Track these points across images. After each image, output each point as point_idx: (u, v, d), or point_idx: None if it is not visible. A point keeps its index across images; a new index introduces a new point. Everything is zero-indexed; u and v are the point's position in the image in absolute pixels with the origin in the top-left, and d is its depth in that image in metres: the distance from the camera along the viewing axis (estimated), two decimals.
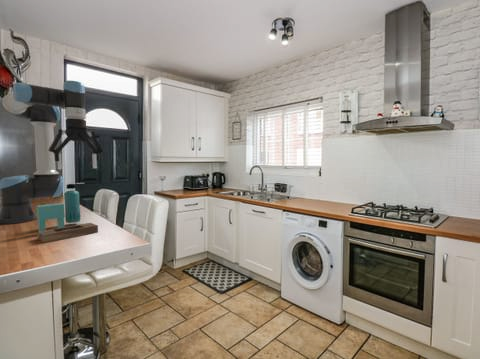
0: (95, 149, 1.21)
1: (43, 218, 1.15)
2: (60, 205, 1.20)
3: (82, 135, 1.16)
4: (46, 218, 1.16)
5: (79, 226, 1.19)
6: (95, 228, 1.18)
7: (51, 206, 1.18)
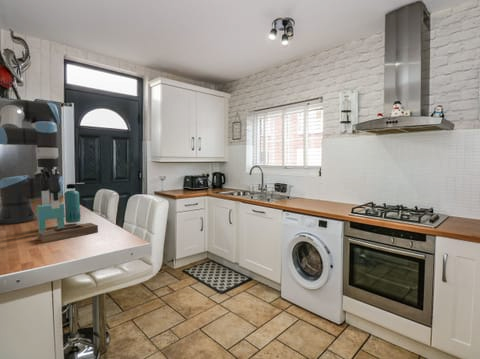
0: (51, 188, 1.12)
1: (43, 218, 1.15)
2: (60, 205, 1.20)
3: (44, 174, 1.15)
4: (46, 218, 1.16)
5: (79, 226, 1.19)
6: (95, 228, 1.18)
7: None
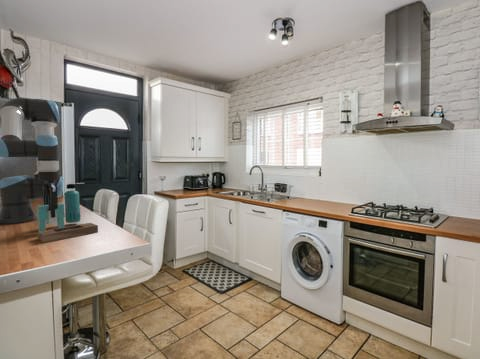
0: (49, 205, 1.16)
1: (43, 218, 1.15)
2: (60, 205, 1.20)
3: (45, 187, 1.16)
4: (46, 218, 1.16)
5: (79, 226, 1.19)
6: (95, 228, 1.18)
7: None
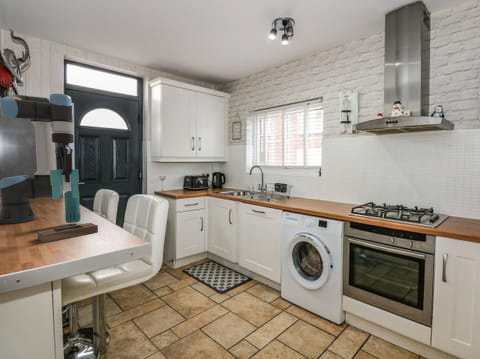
0: (63, 169, 1.09)
1: (57, 182, 1.09)
2: (74, 170, 1.13)
3: (59, 150, 1.09)
4: (60, 183, 1.10)
5: (79, 226, 1.19)
6: (95, 228, 1.18)
7: None
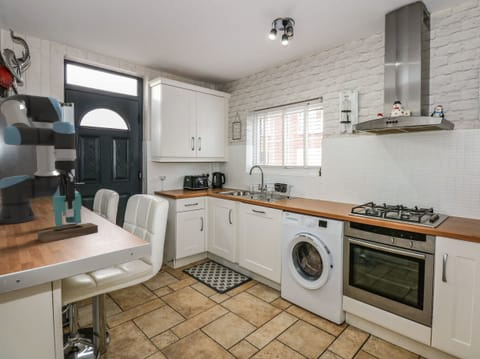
0: (66, 196, 1.10)
1: (60, 209, 1.10)
2: (77, 196, 1.14)
3: (62, 177, 1.10)
4: (63, 210, 1.10)
5: (79, 226, 1.19)
6: (95, 228, 1.18)
7: None
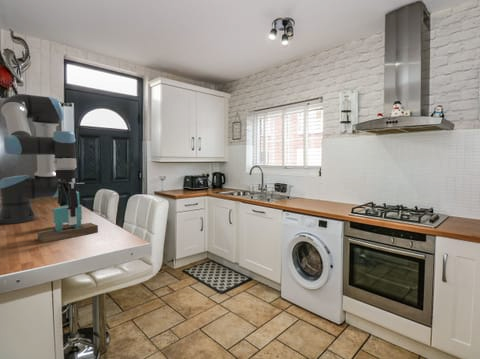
0: (69, 204, 1.08)
1: (60, 221, 1.10)
2: (77, 207, 1.15)
3: (62, 186, 1.10)
4: (63, 221, 1.11)
5: None
6: (95, 228, 1.18)
7: None
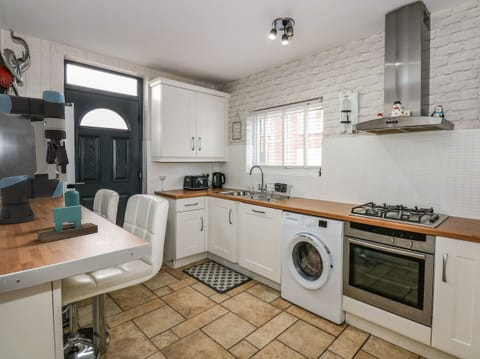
0: (59, 160, 1.09)
1: (60, 221, 1.10)
2: (77, 207, 1.15)
3: (52, 146, 1.11)
4: (63, 221, 1.11)
5: None
6: (95, 228, 1.18)
7: (68, 208, 1.12)
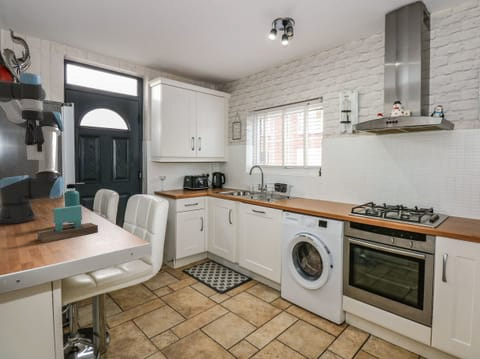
0: (35, 139, 1.13)
1: (60, 221, 1.10)
2: (77, 207, 1.15)
3: (28, 126, 1.16)
4: (63, 221, 1.11)
5: None
6: (95, 228, 1.18)
7: (68, 208, 1.12)
